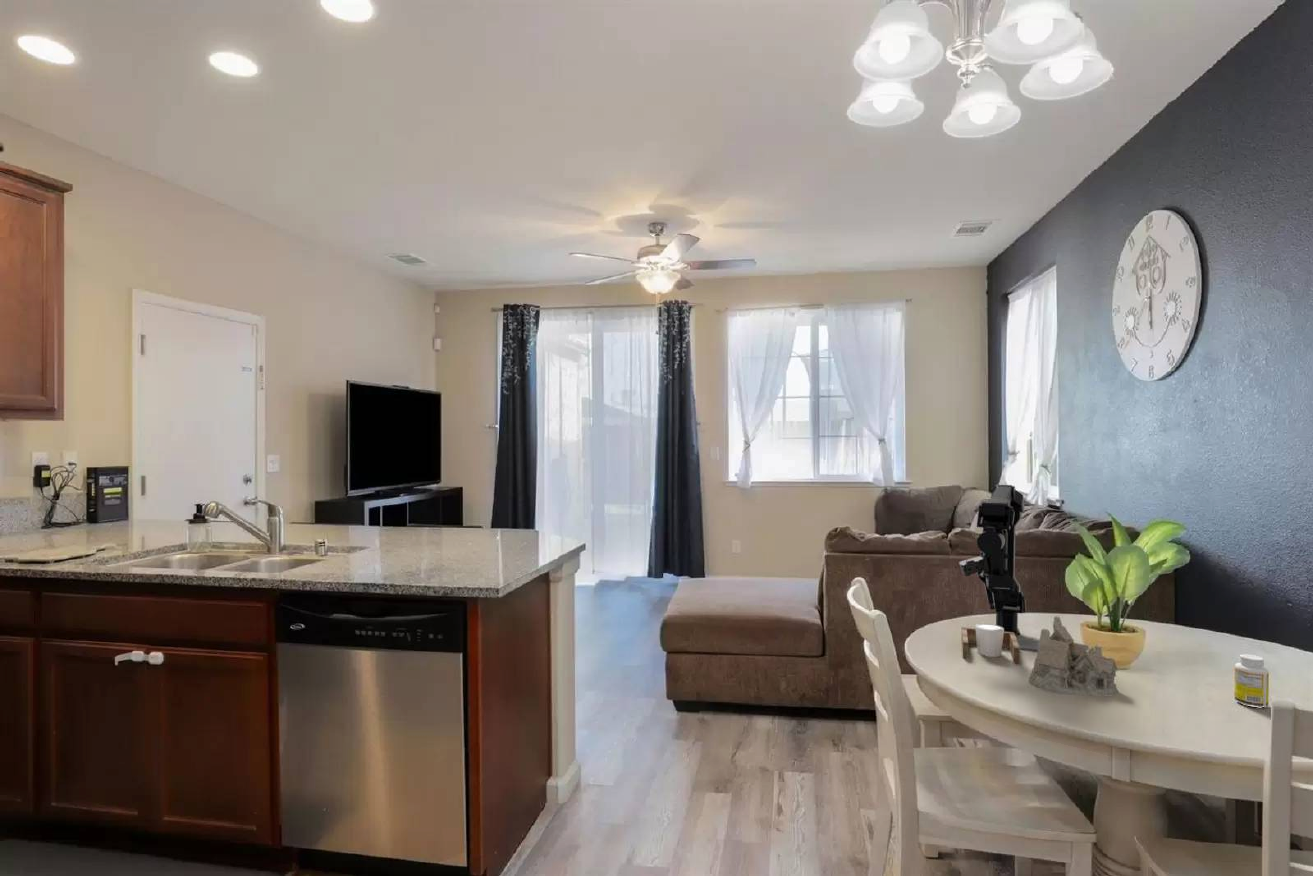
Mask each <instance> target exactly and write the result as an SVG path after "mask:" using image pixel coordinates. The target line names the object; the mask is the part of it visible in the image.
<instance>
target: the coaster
mask: <svg viewBox="0 0 1313 876" xmlns="http://www.w3.org/2000/svg"><path fill="white" fill-rule="evenodd" d="M1016 639H1017V642H1018V645H1019V648H1020V651H1030V652H1037V653H1038V648H1039V643H1038V642H1039V640H1037V639H1036V640H1035V639H1025V638H1017V637H1016Z"/></svg>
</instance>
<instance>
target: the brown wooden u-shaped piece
mask: <svg viewBox="0 0 1313 876" xmlns="http://www.w3.org/2000/svg"><path fill="white" fill-rule="evenodd" d="M1016 638H1017V637H1016V634H1014V632H1004V634H1003V643H1002V648H1006V649H1009V651H1010V654H1011V658H1012V661H1013V664H1014V665H1020V663H1021V658H1020V657H1021V655H1020V654H1021V650H1020V648H1019V645H1018V642H1017V639H1018V638H1017V639H1016ZM969 644H973V645H977V641H976V629H975V627H966V626H964V627H963V626H961V652H962V658H963V659H969Z"/></svg>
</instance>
